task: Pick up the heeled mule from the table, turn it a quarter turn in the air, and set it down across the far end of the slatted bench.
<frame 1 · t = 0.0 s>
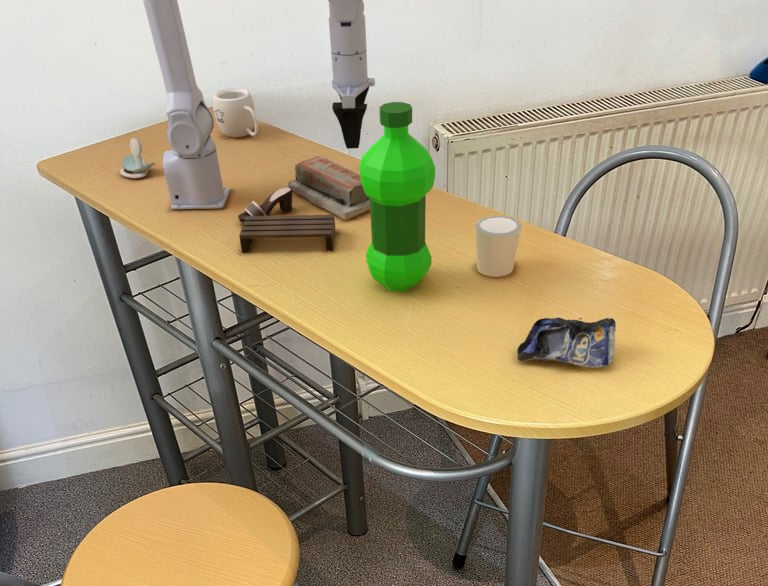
hand: (353, 139, 132), 10 cm above the table, tool pointing down, fingers open, 7 cm apart
pacifier: (137, 174, 150), on the table
snack package: (561, 356, 102), on the table
plastic bottle: (399, 283, 117), on the table
mug: (242, 136, 162), on the table
heeled mule: (266, 217, 135), on the table
slatted bench: (289, 242, 128), on the table
shot glass: (495, 269, 119), on the table
packaged product: (337, 198, 139), on the table
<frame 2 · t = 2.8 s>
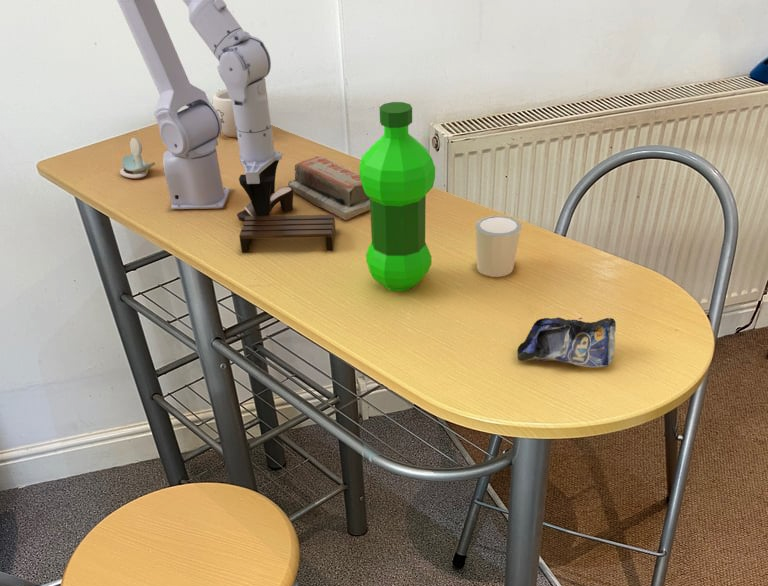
hand: (265, 208, 134), 1 cm above the table, tool pointing down, fingers closed on heeled mule, 5 cm apart
heeled mule: (266, 216, 135), on the table, touching gripper
everything else where it was.
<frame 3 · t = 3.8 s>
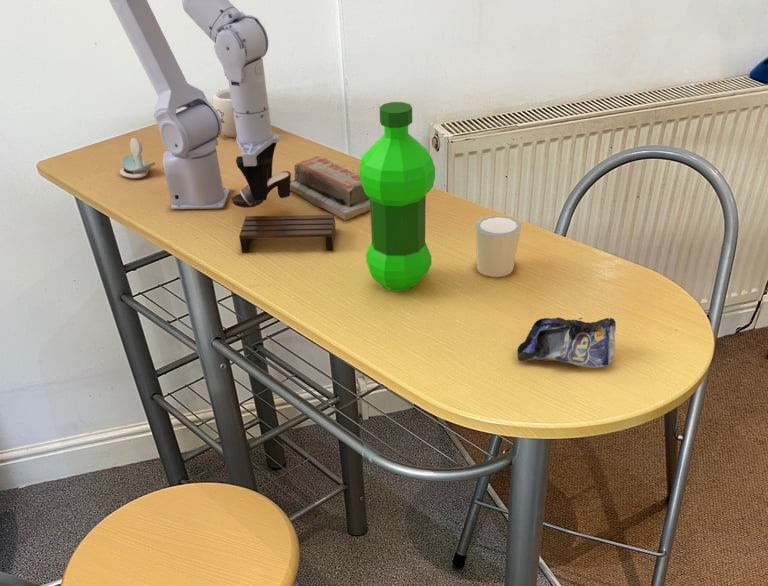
hand: (262, 192, 132), 4 cm above the table, tool pointing down, fingers closed on heeled mule, 5 cm apart
heeled mule: (262, 201, 133), point 3 cm above the table, touching gripper
everything else where it was.
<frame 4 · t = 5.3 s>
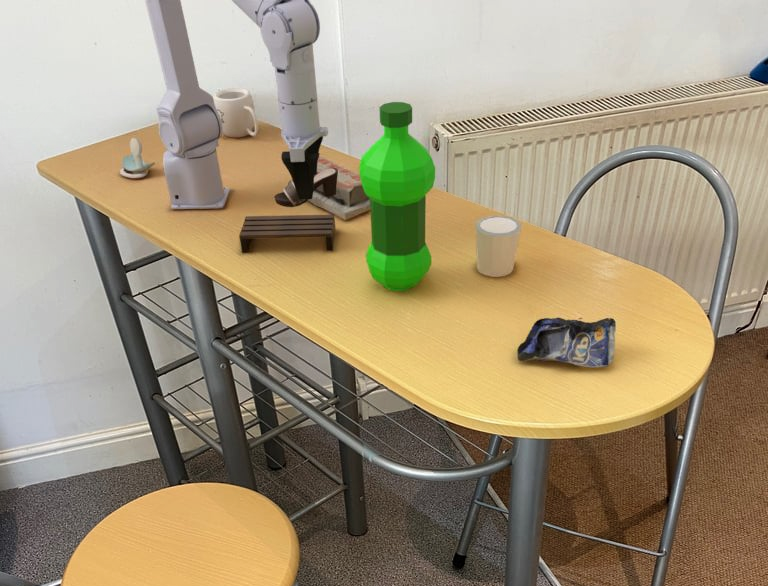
hand: (307, 190, 121), 8 cm above the table, tool pointing down, fingers closed on heeled mule, 5 cm apart
heeled mule: (307, 200, 123), point 7 cm above the table, touching gripper
everything else where it was.
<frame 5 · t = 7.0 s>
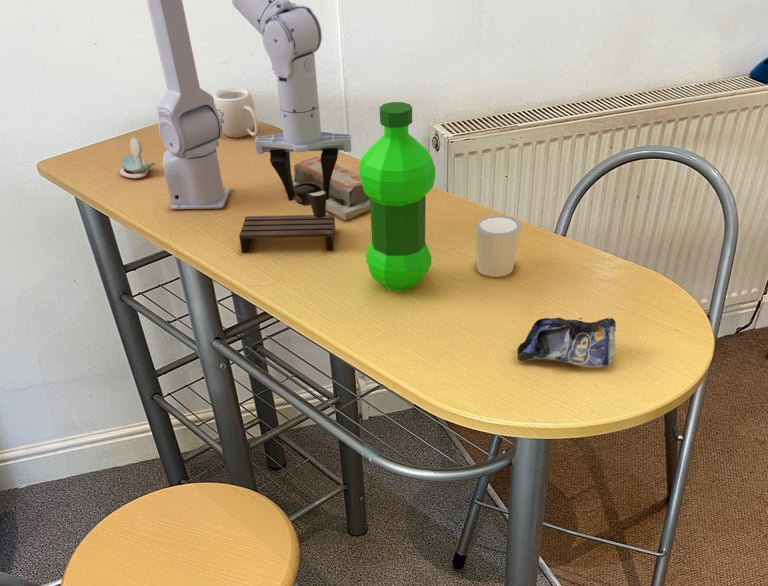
hand: (308, 197, 122), 7 cm above the table, tool pointing down, fingers closed on heeled mule, 5 cm apart
heeled mule: (313, 207, 123), point 6 cm above the table, touching gripper
everything else where it was.
when the fingers open (5 cm above the table, at t = 8.4 s): heeled mule stays where it is, resting on slatted bench.
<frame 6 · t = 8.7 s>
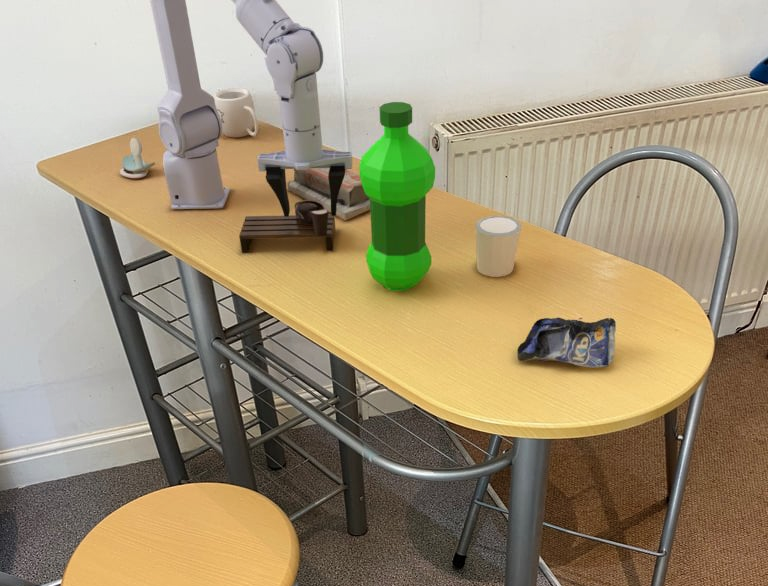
hand: (310, 213, 124), 5 cm above the table, tool pointing down, fingers open, 7 cm apart
heeled mule: (314, 224, 126), point 3 cm above the table, touching slatted bench
everything else where it was.
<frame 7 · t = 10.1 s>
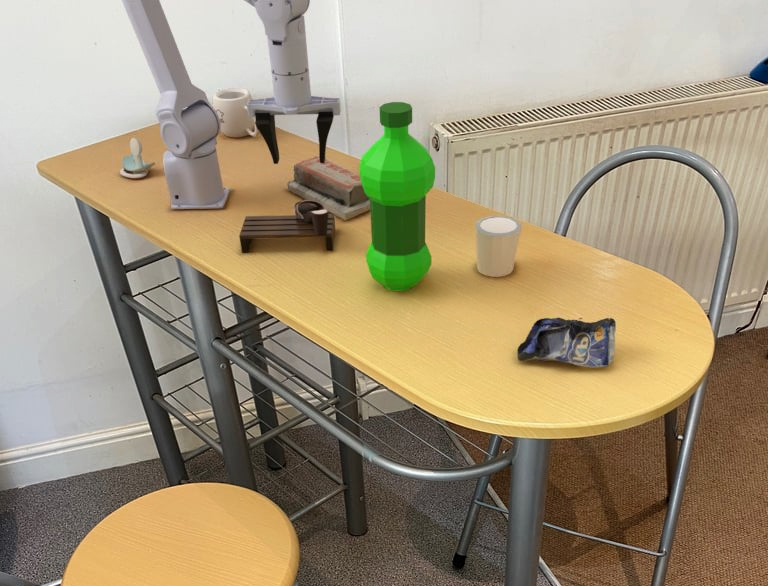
hand: (299, 161, 126), 10 cm above the table, tool pointing down, fingers open, 7 cm apart
nothing on the table moved.
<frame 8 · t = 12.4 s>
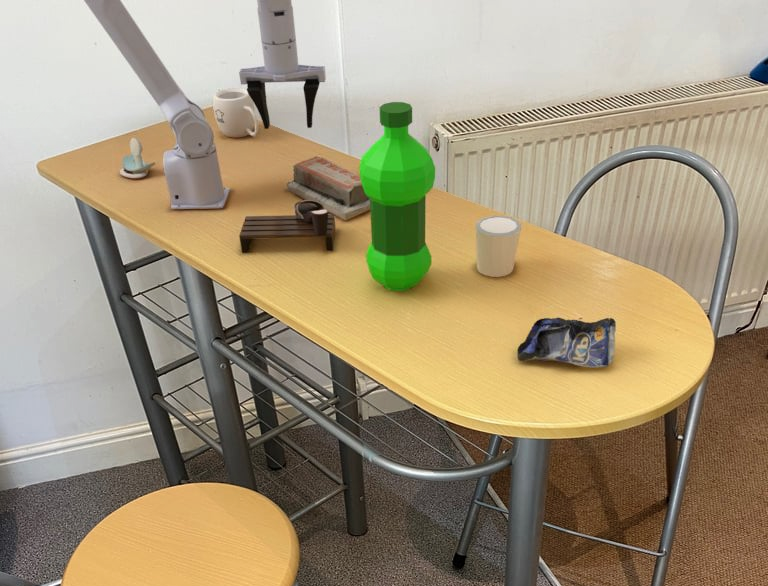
hand: (288, 126, 136), 10 cm above the table, tool pointing down, fingers open, 7 cm apart
nothing on the table moved.
at the end: heeled mule 0.5 cm from the target spot on the slatted bench, point 2.8 cm above the slatted bench's base; heeled mule touching slatted bench; the gripper is holding nothing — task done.
